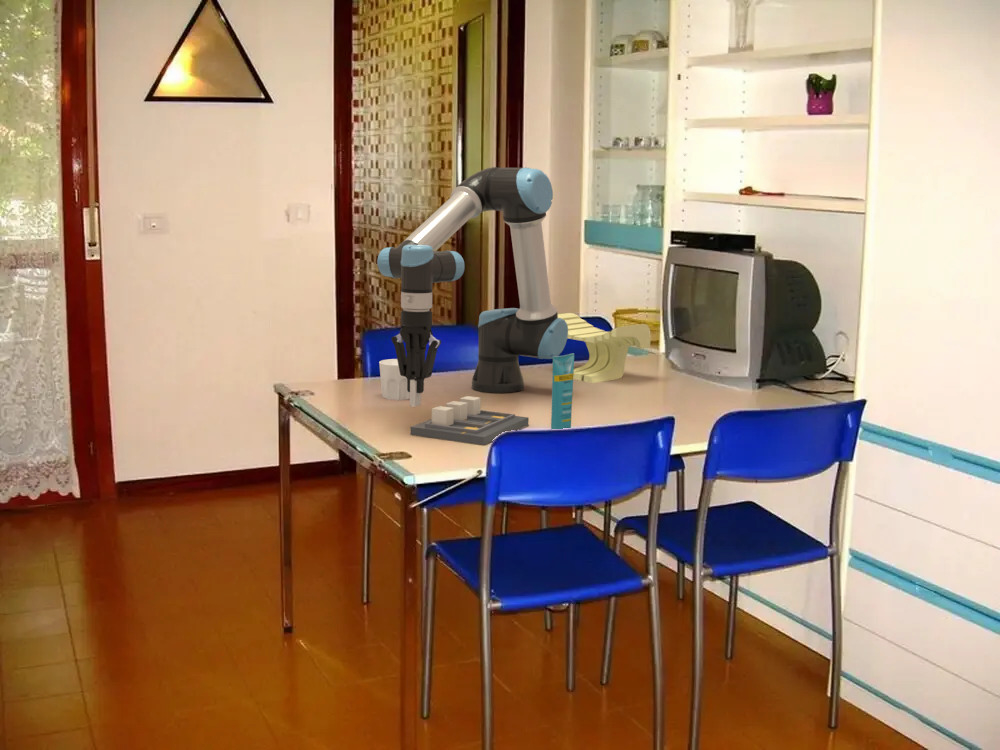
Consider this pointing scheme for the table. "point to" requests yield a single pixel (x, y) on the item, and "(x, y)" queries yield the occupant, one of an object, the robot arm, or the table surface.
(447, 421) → the white cube
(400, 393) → the cup
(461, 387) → the table surface
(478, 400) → the tab far
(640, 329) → the slatted curved stool
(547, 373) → the table surface
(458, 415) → the tab mid
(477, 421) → the switch board
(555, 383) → the tube
